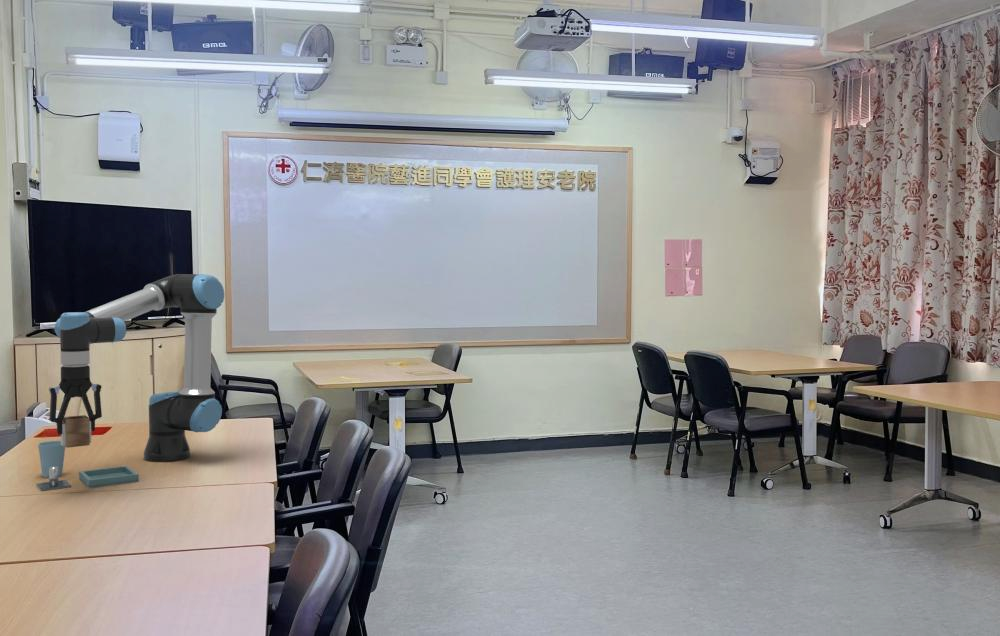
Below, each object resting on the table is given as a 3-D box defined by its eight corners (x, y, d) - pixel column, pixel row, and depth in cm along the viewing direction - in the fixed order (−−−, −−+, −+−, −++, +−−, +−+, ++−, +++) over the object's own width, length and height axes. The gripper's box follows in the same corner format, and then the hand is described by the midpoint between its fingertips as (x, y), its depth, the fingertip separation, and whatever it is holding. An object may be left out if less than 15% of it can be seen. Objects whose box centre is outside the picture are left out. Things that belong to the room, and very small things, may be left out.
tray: (127, 472, 260) (127, 465, 260) (138, 481, 249) (138, 474, 249) (79, 478, 251) (79, 471, 251) (88, 488, 240) (88, 480, 240)
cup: (65, 477, 253) (64, 444, 252) (37, 479, 250) (36, 446, 249) (67, 472, 260) (66, 440, 259) (39, 473, 256) (39, 441, 256)
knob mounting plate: (66, 481, 247) (66, 463, 247) (71, 487, 241) (71, 468, 241) (36, 485, 242) (36, 466, 242) (40, 491, 236) (40, 471, 236)
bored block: (85, 441, 239) (85, 415, 239) (89, 445, 235) (89, 418, 234) (62, 444, 236) (62, 417, 235) (66, 447, 231) (66, 420, 230)
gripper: (107, 362, 243) (108, 438, 244) (35, 365, 231) (37, 445, 232) (113, 364, 237) (114, 442, 238) (40, 368, 225) (41, 450, 226)
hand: (76, 443), depth 235 cm, fingers closed on bored block, 6 cm apart
